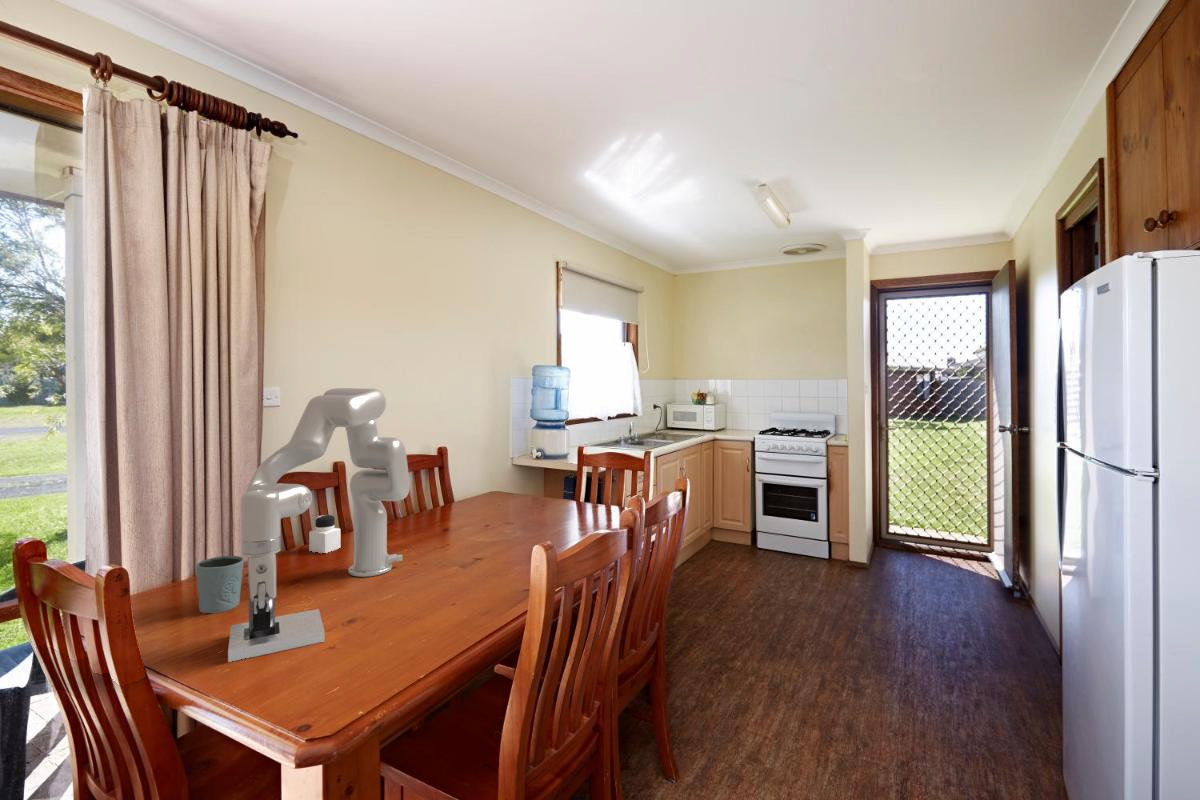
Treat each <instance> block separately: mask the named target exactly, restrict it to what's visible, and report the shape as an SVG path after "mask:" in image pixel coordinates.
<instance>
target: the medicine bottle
mask: <svg viewBox="0 0 1200 800" xmlns="http://www.w3.org/2000/svg"><path fill="white" fill-rule="evenodd" d="M335 519H336V518H335V516H333V515H332V514H325V515H319V516H317V517H316V518H315V520H314V523H315V524H314V525H315V526H314V530H310V531H309V533H308V535H309V536H308V538H309V539H308V543H309V544H308V547H309V548H308V551H309V552H310V551H312V552H311V553H315V552H318V553H317V554H322V553H326V554H328V552H329V553H331V551H332V552H334V551H337V550H339V548H340V549H341V546H342V545H341V542H342V541H341V539H342V538H341V534H342V533H341V528H338V527H335V525H336V523H335Z"/></svg>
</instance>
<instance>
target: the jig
mask: <svg viewBox="0 0 1200 800" xmlns="http://www.w3.org/2000/svg"><path fill="white" fill-rule="evenodd" d="M229 633H230V634H229V640H228V649H227V663H231V662H232V661H233V662H237V661H242V660H246V659H249V658H250V657H251V658H257V657H260V656H264V655H269V654H275V653H279V652H282V651H287V650H292V649H296V648H301V647H306V646H311V645H315V644H319V643H324V642H325V628H324V624H323V620H322V616H321V613H320V608H315V609H312V610H305V611H300V612H296V613H290V614H288V613H287V614H284V615H278V616H275V634H274V635H269V636H264V637H259V638H254V639H249V621H247V622H241V623H237V624H236V623H235V624H231V625H230V632H229ZM245 658H246V659H245ZM251 658H250V659H251ZM241 659H242V660H241ZM233 662H232V663H233Z"/></svg>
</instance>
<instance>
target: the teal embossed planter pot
mask: <svg viewBox="0 0 1200 800" xmlns="http://www.w3.org/2000/svg"><path fill="white" fill-rule="evenodd" d="M244 562H245V559H244V556H239V555H221V556H216V557H210V558H207V559H204V560H201V561H199V562H198V563H196V565H195V567H196V579H197V583H196V584H197V593H198V594H197V595H198V600H199V601H198V609H199V612H200V613H201V612H202V613H201V614H204V613H214V614H219V613H218V612H220V613H224V612H223V611H225V612H227V610H228V611H230V609H231V610H233V609H235V608H237V607H238V606H239V604H240V602H241V601H240V599H241V589H242V580H243V579H242V578H243V568H244ZM237 605H238V606H237ZM236 606H237V607H236ZM234 607H235V608H234ZM232 608H233V609H232Z"/></svg>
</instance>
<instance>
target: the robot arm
mask: <svg viewBox="0 0 1200 800" xmlns="http://www.w3.org/2000/svg"><path fill="white" fill-rule="evenodd" d="M386 406H387V401H386V396H385V394H384V393H383V392H382V391H381V390H379V389H376V388H348V387H345V388H343V387H341V388H340V387H336V388H331V389H328V390H326V391H325V392H324V393H323V394H322V395H317V396H314V397H312V398H311V399H310V400H309V401H308V403H307V405H306V407H305V409H304V411H303V413H302V415H301V417H300V420H299V422H298V423H297V426H296V427H295V430H294V431H293V433H292V436H291V438H290V440H289V442H288V443H286V444H285V445H283V446H282V447H281V448H279V449H277V450H276V451H274V452H273V453H272V454H271V455H270V456H268V457H267V458H266V459H265V460H264V461H262V463H261V464H259V466H258V467H257V468H256V470H255V471H254V473H253V476H252V477H251V480H250V482H249V484H248V486H247V488H246V491H245V493H244V494H243V495H242V497H241V498H240V533H241V534H240V536H241V538H240V539H241V540H240V542H241V543H240V545H241V546H240V547H241V549H240V555H241V557H243V558H244V557H245V558H247V572H248V574H247V575H248V577H247V578H248V579H247V580H248V589H249V596H250V597H249V599H250V598H251V601H253V602H254V613H253V631H254V632H257V631H262V630H267V629H270V610H269V597H270V598H272V597H273V598H275V599H276V597H277V556H276V554H277V553H278V552H280V551H281V548H282V547H281V543H282V542H281V541H282V539H281V538H282V537H281V535H282V534H281V532H282V531H281V520H282V519H284V518H290V517H296V516H299V515H302V514H304V513H305V512H306V511H307V510H308V509H309V508H310V506H311V505H312V501H313V495H312V494H313V493H312V491H311V490H310V489H309V487H307V486H306V485H302V484H299V483H278V481H279V480H280V479H281V477H283V476H284V475H285V474H286V473H288V472H290V471H291V470H294V469H296V468H298V467H300V466H303V465H305V464H308V463H310V462H313V461H315V460H317V459H320V458H321V457H322V456H324V455H325V452H326V451H327V448H328V446H329V444H330V441H331V440H332V436H333V434H334V432H335V430H336V428H345V432H346V437H347V442H348V449H349V455H350V460H351V462H352V464H353V465H354V466H355V467H357V468H359V469H361V468H362V469H361V470H359V471H357V472H355V473H354V474H352V476H351V478H350V482H349V488H350V494H351V498H352V505H353V507H352V508H353V564H352V565H351V566H349V568H348V570H347V571H348V572H347V573H348V574H349V575H351V576H354V577H362V578H363V577H366V578H367V577H374V576H375V577H376V576H379V575H383V574H386V573H387V572H390V571H391V569H392V568H393V562H402V561H403V554H397V553H393V554H389V553H388V550H387V549H388V548H387V547H388V543H387V542H388V541H387V540H388V539H387V538H388V535H387V534H388V532H387V531H388V530H387V528H388V526H387V525H388V517H387V516H388V514H387V510H386V508H385V505H384V504H383V502H384V501H385V502H400V501H402V500H404V499H406V498H407V497H408V495H409V493H410V487H411V483H410V473H409V467H408V458H407V452H406V451H407V450H406V448H405V447H406V446H405V445H404V443H403V441H401V439H398V438H396V437H381V436H380V435H379V433H378V428H377V423H376V420H377V419H378V418H380V417H381V416H382V415H383V413H384V412H385V410H386ZM265 595H267V597H265ZM256 596H257V597H258V598H257V599H256ZM265 601H266V602H265ZM257 602H258V604H257Z"/></svg>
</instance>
